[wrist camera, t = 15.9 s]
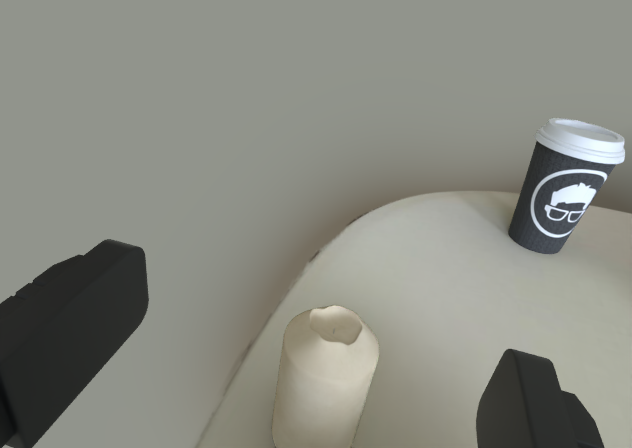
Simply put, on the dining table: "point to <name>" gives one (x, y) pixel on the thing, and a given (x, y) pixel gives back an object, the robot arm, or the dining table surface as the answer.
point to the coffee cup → (562, 181)
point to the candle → (323, 379)
